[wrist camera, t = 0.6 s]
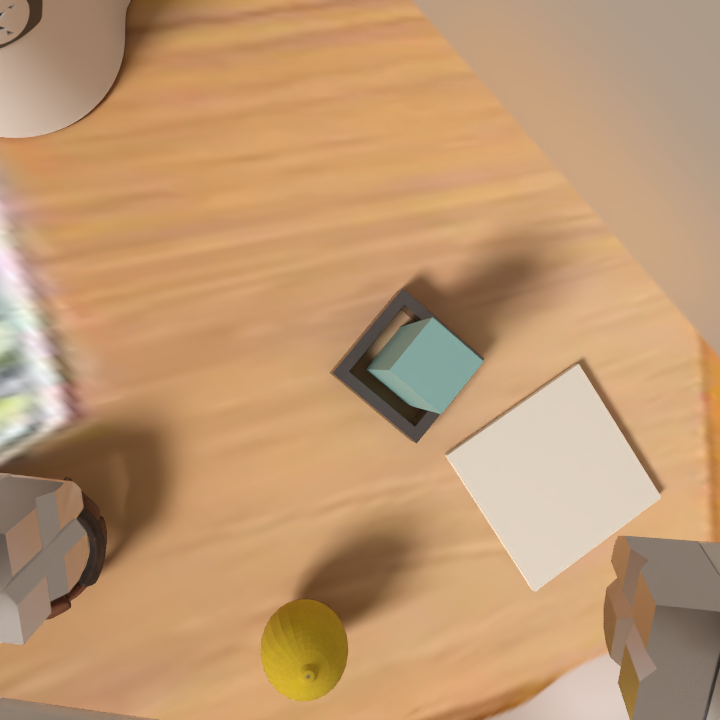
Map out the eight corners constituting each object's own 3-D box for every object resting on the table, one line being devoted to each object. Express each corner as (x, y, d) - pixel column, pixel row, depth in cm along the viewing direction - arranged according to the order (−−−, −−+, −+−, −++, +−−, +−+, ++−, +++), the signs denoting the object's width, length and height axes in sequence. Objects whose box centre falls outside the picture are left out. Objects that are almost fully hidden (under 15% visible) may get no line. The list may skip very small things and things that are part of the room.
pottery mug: (4, 428, 43) (32, 454, 37) (112, 504, 48) (153, 538, 42) (-145, 587, 39) (-143, 648, 32) (-10, 652, 44) (15, 715, 37)
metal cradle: (329, 372, 46) (332, 372, 44) (397, 291, 46) (402, 288, 45) (410, 440, 46) (416, 443, 45) (475, 359, 47) (484, 359, 45)
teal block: (365, 369, 46) (389, 370, 37) (400, 326, 46) (432, 317, 38) (407, 405, 46) (441, 414, 38) (441, 362, 47) (483, 361, 38)
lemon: (312, 567, 45) (321, 609, 37) (355, 631, 46) (374, 686, 38) (245, 614, 45) (240, 668, 37) (289, 678, 45) (295, 745, 37)
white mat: (444, 454, 47) (447, 455, 46) (575, 363, 48) (578, 363, 48) (531, 589, 48) (534, 592, 47) (656, 495, 49) (661, 497, 49)
